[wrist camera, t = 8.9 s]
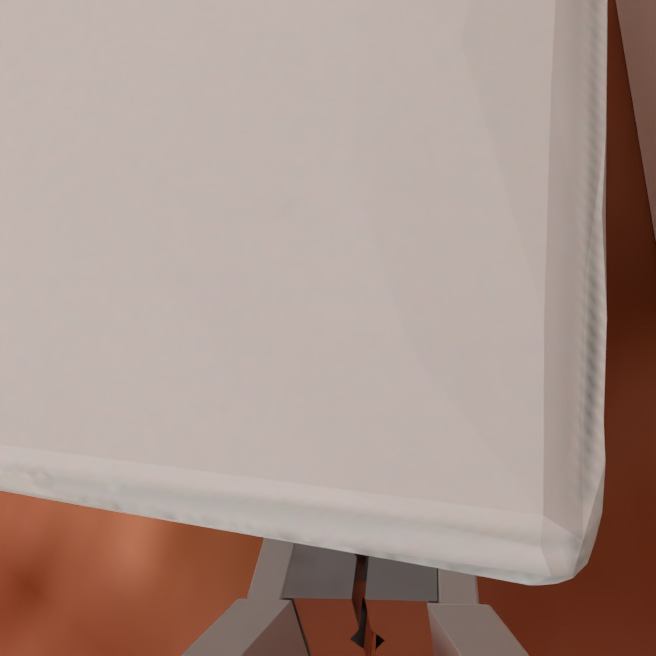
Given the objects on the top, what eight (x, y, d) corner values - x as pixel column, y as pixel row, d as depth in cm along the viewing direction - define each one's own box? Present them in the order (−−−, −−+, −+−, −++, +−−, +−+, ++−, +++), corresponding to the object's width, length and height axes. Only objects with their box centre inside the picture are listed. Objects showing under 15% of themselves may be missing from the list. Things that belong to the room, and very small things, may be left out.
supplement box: (245, 200, 17) (-256, -431, 5) (509, 205, 15) (668, -738, 3) (202, 457, 16) (-658, 395, 4) (491, 496, 14) (672, 627, 2)
